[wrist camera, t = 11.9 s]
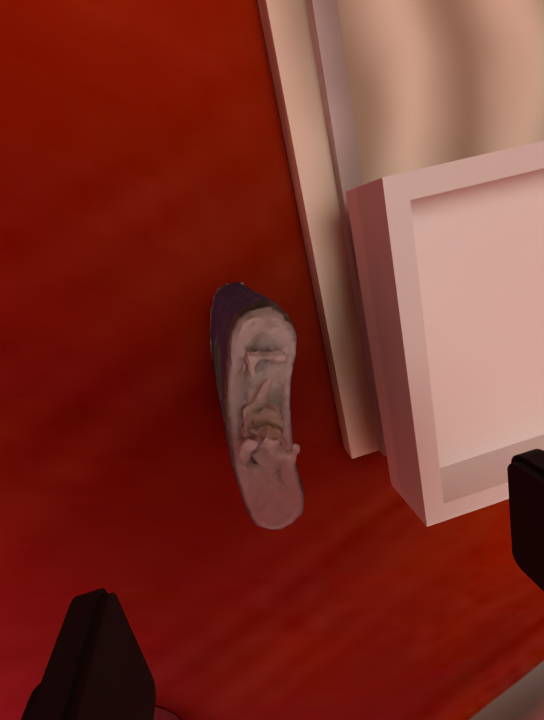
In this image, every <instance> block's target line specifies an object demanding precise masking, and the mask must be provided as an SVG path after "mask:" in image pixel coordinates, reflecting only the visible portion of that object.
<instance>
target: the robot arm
mask: <svg viewBox="0 0 544 720" xmlns="http://www.w3.org/2000/svg"><path fill="white" fill-rule="evenodd" d="M507 474H508V490H509V506H510V522H511V538H512V553H513V557H514V559H515V561H516V563H517V564H518V566H519V567H520V568H521V570H522V571H523V572H524V573H525V574H526V575H527V576H528V577H529V578H531V579H532V580H533V581H534V582H535V583H536V584H537V585H538V586H539V587H540V588H541V589H542V590H543V591H544V451H543V450H541V449H533V450H530V451H527V452H524V453H521V454H518V455H515V456H513V458H512V459H511V464H509V465H508V467H507ZM155 700H156V691H155V684H154V680H153V677H152V675H151V672H150V670H149V668H148V666H147V663H146V661H145V659H144V657H143V654H142V652H141V650H140V648H139V645H138V643H137V641H136V639H135V636H134V634H133V632H132V630H131V627H130V625H129V623H128V621H127V618H126V616H125V614H124V612H123V609H122V607H121V605H120V603H119V600H118V598H117V596H116V594H115V593H109V594H108V593H107V591H106V590H105V589H103V588H102V589H98V590H95V591H92V592H89V593H86V594H82V595H79V596H76V597H75V598H74V599H73V600H72V602H71V604H70V606H69V609H68V612H67V614H66V617H65V620H64V622H63V625H62V628H61V630H60V633H59V636H58V638H57V641H56V644H55V646H54V649H53V652H52V654H51V657H50V660H49V662H48V665H47V668H46V670H45V673H44V676H43V679H42V681H41V683H40V684H39V685H38V686H37V687H36V688H35V689H34V690H33V692H32V694H31V696H30V698H29V700H28V703H27V705H26V708H25V711H24V713H23V716H22V718H21V720H154V710H155Z"/></svg>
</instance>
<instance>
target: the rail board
mask: <svg viewBox="0 0 544 720" xmlns="http://www.w3.org/2000/svg"><path fill="white" fill-rule="evenodd" d="M257 1H258V6H259V11H260V16H261V22H262V27H263V32H264V37H265V42H266V48H267V53H268V58H269V63H270V68H271V73H272V79H273V84H274V89H275V94H276V99H277V104H278V110H279V115H280V120H281V125H282V130H283V135H284V141H285V146H286V151H287V156H288V161H289V166H290V172H291V177H292V182H293V187H294V192H295V197H296V203H297V208H298V213H299V218H300V223H301V229H302V234H303V239H304V244H305V249H306V254H307V260H308V265H309V270H310V275H311V280H312V285H313V291H314V296H315V301H316V306H317V311H318V316H319V322H320V327H321V332H322V337H323V342H324V347H325V353H326V358H327V363H328V368H329V373H330V378H331V384H332V389H333V394H334V399H335V404H336V410H337V415H338V420H339V425H340V430H341V435H342V441H343V446H344V449H345V450H346V451H347V453H348V454H349V455H350V457H351V458H352V459H353V458H356V457H359V456H363V455H366V454H369V453H372V452H375V451H378V450H379V451H380V452H381V453H382V454H383V455H384V456H387V454H386V447H385V441H384V435H383V431H382V427H381V415H380V409H379V403H378V396H377V390H376V383H375V377H374V371H373V364H372V358H371V351H370V345H369V339H368V332H367V326H366V319H365V313H364V307H363V300H362V294H361V287H360V281H359V275H358V268H357V262H356V256H355V251H354V248H353V242H352V230H351V224H350V217H349V211H348V204H347V198H346V191H348V190H351V189H354V188H356V187H359V186H361V185H364V184H367V183H369V182H372V181H374V180H377V179H380V178H382V177H387V176H391V175H395V174H400V173H404V172H408V171H413V170H417V169H421V168H426V167H430V166H434V165H439V164H443V163H447V162H452V161H456V160H461V159H465V158H469V157H474V156H478V155H482V154H487V153H491V152H495V151H500V150H504V149H508V148H513V147H517V146H521V145H526V144H530V143H534V142H539V141H543V140H544V0H257Z"/></svg>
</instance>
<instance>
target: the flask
mask: <svg viewBox="0 0 544 720" xmlns="http://www.w3.org/2000/svg"><path fill="white" fill-rule="evenodd" d="M210 315H211V317H210V319H211V320H210V322H211V324H210V333H209V334H210V337H211V340H210V345H211V347H210V351H211V354H212V366H213V368H214V372H215V377H216V384H217V390H218V394H219V400H220V405H221V409H222V414H223V419H224V424H225V431H226V439H227V444H228V449H229V455H230V459H231V463H232V467H233V471H234V475H235V479H236V482H237V484H238V487H239V490H240V493H241V496H242V499H243V502H244V505H245V508H246V511H247V513H248V514H249V515H250V517H251V519H252V521H253V522H254V523H255V524H256V525H257V526H259V527H262V528H267V529H282V528H284V527H286V526H287V525H290V524H292V523H293V522H294V521H295V520H296V519H297V518H298V517H299V516H301V515H302V513H303V508H304V497H305V492H304V489H303V484H302V480H301V478H300V475H299V473H298V469H297V465H296V456H297V454H298V453H299V452H300V446H299V445H297V444H294V442H293V439H292V425H291V408H290V395H291V377H292V371H293V365H294V361H295V357H296V332H295V329H294V327H293V324H292V322H291V320H290V318H289V316H288V315H287V313H286V312H285V311H284V310H282V309H281V308H280V307H279V305H278V304H277V303H276V302H275V301H271V300H270V299H268V298H266V297H264V296H263V295H260V294H259V293H256V292H254V291H253V290H251V289H250V288H248V287H246V286H244V284H243V282H241V283H238V282H235V283H231V284H226V285H224V286H223V287H221V288H219V289H218V290H217V292H216V293H215V295H214V298H213V305H212V307H211V312H210Z"/></svg>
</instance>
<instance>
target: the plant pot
mask: <svg viewBox="0 0 544 720" xmlns="http://www.w3.org/2000/svg"><path fill="white" fill-rule="evenodd" d="M154 720H180V719H179V718H178V717H177V716H176V715H175V714H173V713H171V712H170V711H168V710H165V709H162V708H158V707H155V710H154Z"/></svg>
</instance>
